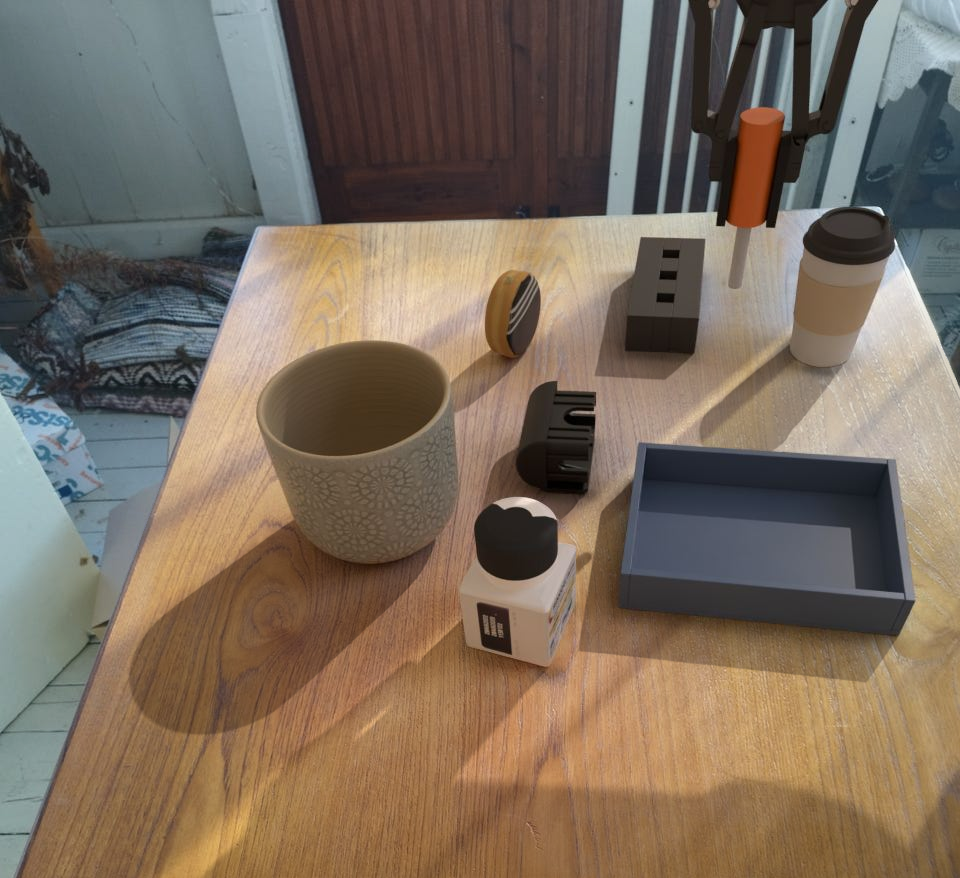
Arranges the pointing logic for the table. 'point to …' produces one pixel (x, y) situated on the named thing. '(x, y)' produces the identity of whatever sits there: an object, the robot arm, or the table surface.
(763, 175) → the screwdriver
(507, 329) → the doughnut
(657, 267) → the holder
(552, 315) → the table surface
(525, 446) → the end cap
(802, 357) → the coffee cup
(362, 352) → the planter
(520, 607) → the container
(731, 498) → the bin
